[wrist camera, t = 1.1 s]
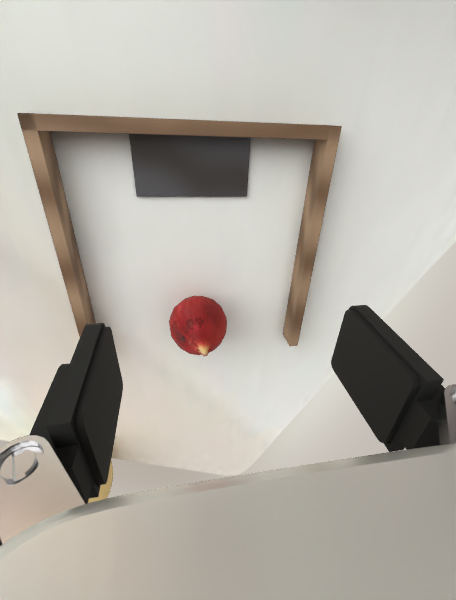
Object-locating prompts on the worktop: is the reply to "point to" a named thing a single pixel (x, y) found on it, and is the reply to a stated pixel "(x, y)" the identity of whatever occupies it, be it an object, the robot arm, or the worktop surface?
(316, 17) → the worktop surface
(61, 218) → the wooden u-shaped frame
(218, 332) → the onion
